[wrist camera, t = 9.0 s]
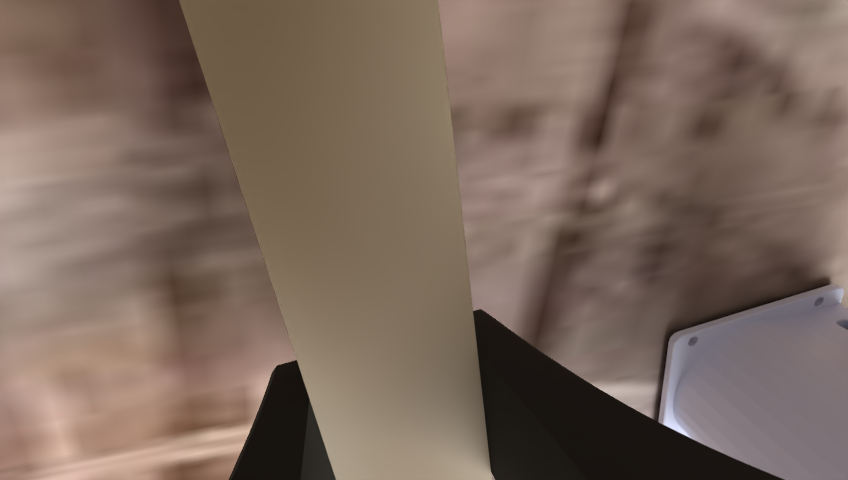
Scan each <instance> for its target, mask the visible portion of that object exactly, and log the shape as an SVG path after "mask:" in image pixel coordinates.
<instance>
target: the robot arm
mask: <svg viewBox="0 0 848 480" xmlns="http://www.w3.org/2000/svg"><path fill="white" fill-rule="evenodd" d="M843 294H844V290H843V288H842V287H840V286H838V285H836V284H830V285H827V286H824V287H821V288H817V289H814V290H811V291H808V292H804V293H801V294H798V295H795V296H791V297H788V298H785V299H782V300H778V301H775V302H772V303H769V304H765V305H762V306H759V307H756V308H752V309H749V310H746V311H743V312H739V313H736V314H733V315H730V316H726V317H723V318H720V319H717V320H713V321H710V322H707V323H704V324H700V325H697V326H694V327H691V328H687V329H684V330H681V331H678V332H676V333H674V334H673V335H672V336H671V338H670V340H669V343H668V351H667V359H666V367H665V374H664V382H663V390H662V397H661V405H660V413H659V420H658V422H657V421H655V420H653V419H651V418H649V417H647V416H646V415H644V414H642V413H640V412H638V411H636V410H635V409H633V408H631V407H629V406H627V405H626V404H624V403H622V402H620V401H619V400H617V399H615V398H614V397H612V396H610V395H608V394H607V393H605V392H603V391H602V390H600V389H598V388H597V387H595V386H593V385H592V384H590V383H588V382H587V381H585V380H584V379H582V378H580V377H579V376H577V375H576V374H574V373H573V372H571V371H570V370H568V369H566V368H565V367H563V366H562V365H560V364H559V363H557V362H556V361H554V360H553V359H551V358H550V357H548V356H547V355H545V354H544V353H542V352H541V351H539V350H538V349H536V348H535V347H533V346H532V345H531V344H529V343H528V342H526V341H525V340H523V339H522V338H521V337H519V336H518V335H516V334H515V333H514V332H512V331H511V330H509V329H508V328H507V327H505V326H504V325H503V324H501V323H500V322H498V321H497V320H496V319H494V318H493V317H492V316H490V315H489V314H487V313H486V312H484V311H483V310H481V309H480V310H476V311H473V316H474V325H475V334H476V343H477V351H478V360H479V369H480V378H481V387H482V396H483V405H484V414H485V422H486V431H487V440H488V449H489V458H490V467H491V472H492V474H493V476H494V478H495V480H848V308H847V307H845V306H843V305H841V304H840V303H841V300H842V297H843ZM229 480H336V478H335V475H334V472H333V469H332V466H331V463H330V460H329V457H328V454H327V451H326V448H325V445H324V442H323V439H322V436H321V432H320V429H319V426H318V423H317V420H316V417H315V414H314V411H313V408H312V405H311V402H310V399H309V396H308V393H307V390H306V387H305V384H304V381H303V377H302V374H301V371H300V368H299V365H298V362H297V360H295V361H292V362H288V363H285V364H281V365H277V366H276V368H275V369H274V371H273V372H272V374H271V377H270V380H269V383H268V386H267V389H266V392H265V395H264V397H263V400H262V403H261V405H260V408H259V410H258V413H257V415H256V418H255V420H254V423H253V425H252V428H251V430H250V433H249V435H248V437H247V440H246V442H245V444H244V446H243V449H242V451H241V453H240V455H239V458H238V460H237V462H236V464H235V467H234V469H233V471H232V474H231V476H230V478H229Z"/></svg>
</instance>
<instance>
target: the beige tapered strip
mask: <svg viewBox="0 0 848 480" xmlns="http://www.w3.org/2000/svg"><path fill="white" fill-rule="evenodd" d="M179 2H180V5H181V8H182V11H183V14H184V17H185V20H186V23H187V26H188V29H189V32H190V35H191V38H192V41H193V44H194V47H195V51H196V54H197V57H198V60H199V63H200V66H201V69H202V72H203V75H204V78H205V81H206V84H207V87H208V90H209V93H210V96H211V99H212V102H213V106H214V109H215V112H216V115H217V118H218V121H219V124H220V127H221V130H222V133H223V136H224V139H225V142H226V145H227V148H228V151H229V154H230V157H231V161H232V164H233V167H234V170H235V173H236V176H237V179H238V182H239V185H240V188H241V191H242V194H243V197H244V200H245V203H246V206H247V209H248V212H249V216H250V219H251V222H252V225H253V228H254V231H255V234H256V237H257V240H258V243H259V246H260V249H261V252H262V255H263V258H264V261H265V264H266V267H267V271H268V274H269V277H270V280H271V283H272V286H273V289H274V292H275V295H276V298H277V301H278V304H279V307H280V310H281V313H282V316H283V319H284V322H285V326H286V329H287V332H288V335H289V338H290V341H291V344H292V347H293V350H294V353H295V356H296V359H297V362H298V365H299V368H300V371H301V374H302V377H303V381H304V384H305V387H306V390H307V393H308V396H309V399H310V402H311V405H312V408H313V411H314V414H315V417H316V420H317V423H318V426H319V429H320V432H321V436H322V439H323V442H324V445H325V448H326V451H327V454H328V457H329V460H330V463H331V466H332V469H333V472H334V475H335V478H336V480H492V476H491V467H490V458H489V449H488V440H487V431H486V422H485V414H484V405H483V396H482V387H481V378H480V369H479V360H478V351H477V343H476V334H475V325H474V316H473V307H472V298H471V289H470V280H469V272H468V263H467V254H466V245H465V236H464V227H463V218H462V210H461V201H460V192H459V183H458V174H457V165H456V156H455V147H454V139H453V130H452V121H451V112H450V103H449V94H448V85H447V76H446V68H445V59H444V50H443V41H442V32H441V23H440V14H439V5H438V0H179Z"/></svg>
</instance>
